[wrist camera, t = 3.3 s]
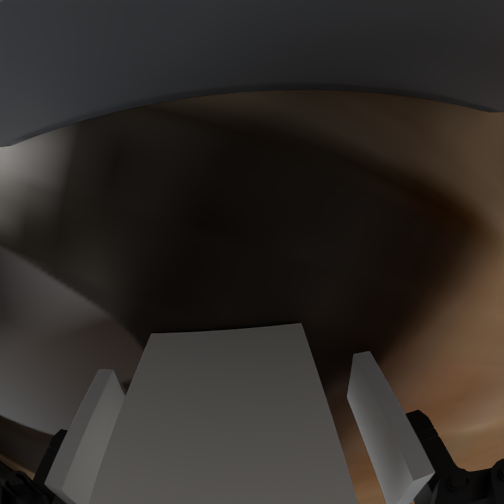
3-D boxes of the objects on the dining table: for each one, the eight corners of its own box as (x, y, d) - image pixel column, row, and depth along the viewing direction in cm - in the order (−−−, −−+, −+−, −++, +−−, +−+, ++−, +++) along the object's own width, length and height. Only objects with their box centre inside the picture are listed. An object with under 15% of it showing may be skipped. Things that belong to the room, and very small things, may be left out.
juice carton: (182, 426, 14) (159, 602, 4) (151, 333, 12) (69, 575, 2) (299, 419, 14) (334, 599, 4) (301, 322, 12) (380, 587, 2)
